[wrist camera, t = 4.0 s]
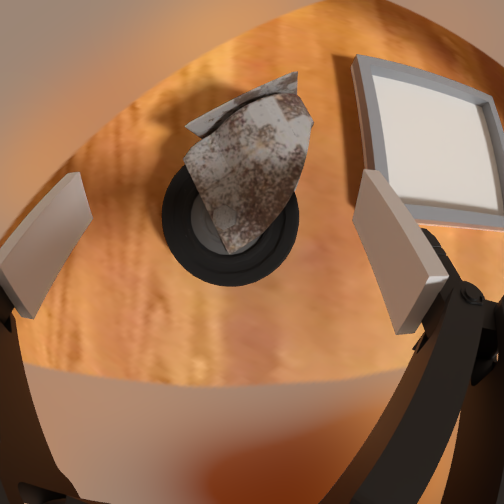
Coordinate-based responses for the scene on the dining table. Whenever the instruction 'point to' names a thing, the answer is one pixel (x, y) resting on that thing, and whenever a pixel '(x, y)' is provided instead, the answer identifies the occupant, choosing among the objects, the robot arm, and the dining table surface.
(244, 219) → the caster wheel
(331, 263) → the dining table surface
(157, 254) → the dining table surface
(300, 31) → the dining table surface
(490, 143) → the shallow rectangular tray
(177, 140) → the dining table surface
